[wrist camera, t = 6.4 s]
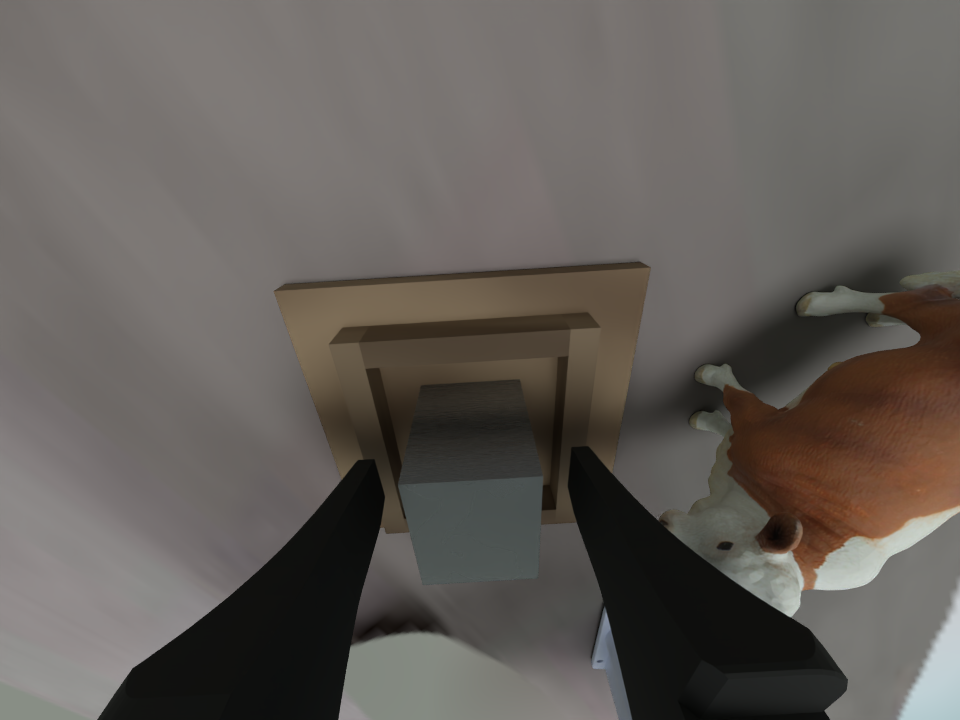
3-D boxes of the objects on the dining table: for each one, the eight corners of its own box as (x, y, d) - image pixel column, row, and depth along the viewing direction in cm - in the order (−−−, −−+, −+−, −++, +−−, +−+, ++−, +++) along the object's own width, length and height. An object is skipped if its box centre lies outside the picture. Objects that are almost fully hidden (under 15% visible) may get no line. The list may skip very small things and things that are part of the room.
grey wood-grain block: (519, 468, 16) (538, 578, 12) (435, 472, 16) (422, 584, 12) (519, 379, 14) (543, 476, 9) (420, 384, 14) (397, 485, 9)
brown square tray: (599, 501, 19) (614, 539, 17) (363, 515, 19) (351, 554, 17) (640, 262, 12) (671, 278, 10) (284, 284, 12) (250, 304, 10)
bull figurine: (586, 412, 16) (685, 613, 8) (921, 218, 12) (1603, 287, 5) (628, 465, 17) (739, 669, 10) (932, 311, 14) (1443, 462, 6)
